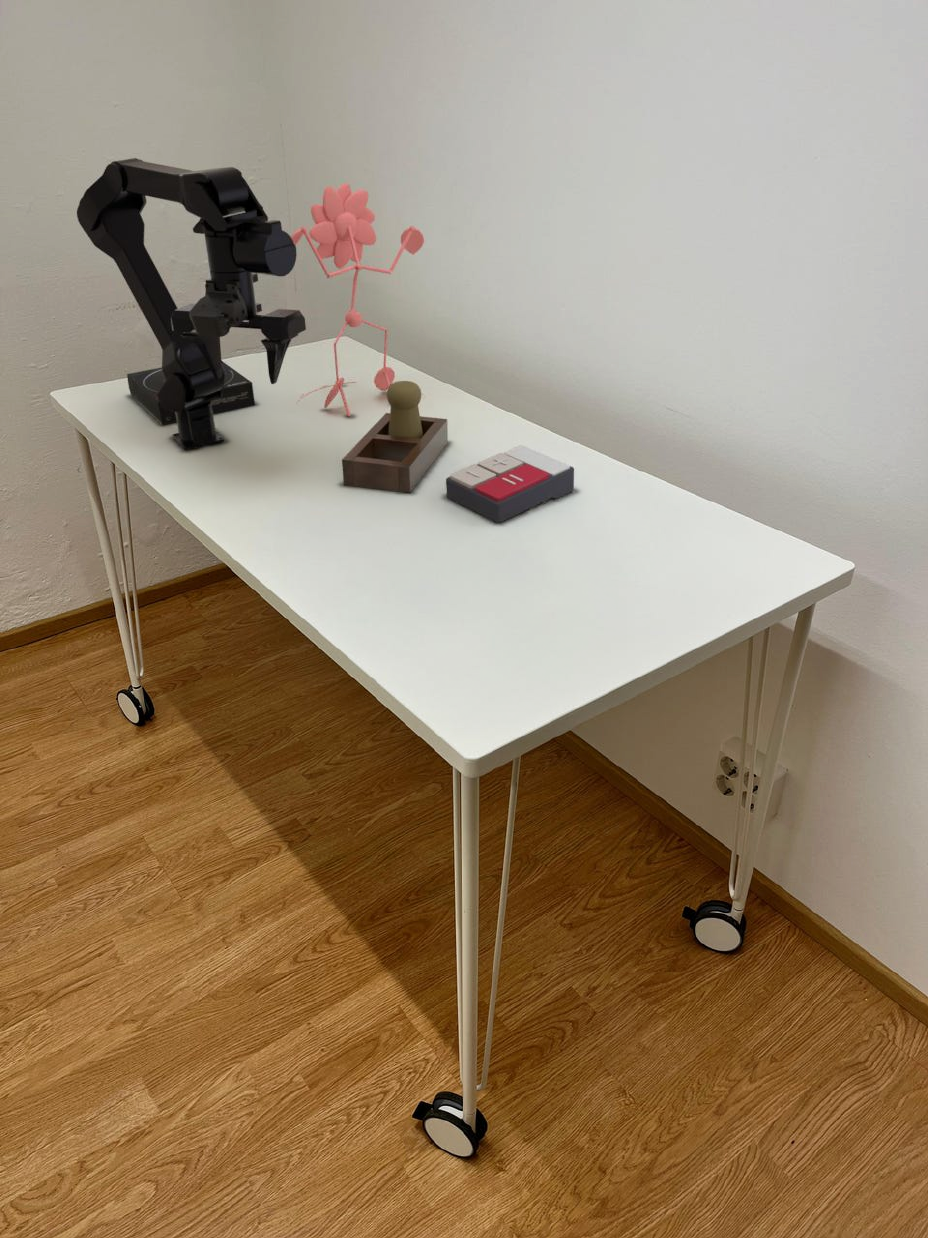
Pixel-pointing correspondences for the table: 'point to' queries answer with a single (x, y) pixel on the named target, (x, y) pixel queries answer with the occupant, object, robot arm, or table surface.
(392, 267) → the figurine
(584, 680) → the table surface
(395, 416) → the olive game pawn
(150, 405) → the portable cd player
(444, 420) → the hole block
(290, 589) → the table surface
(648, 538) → the table surface
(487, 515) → the calculator
